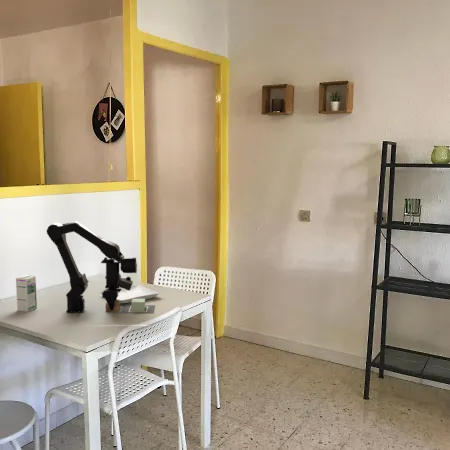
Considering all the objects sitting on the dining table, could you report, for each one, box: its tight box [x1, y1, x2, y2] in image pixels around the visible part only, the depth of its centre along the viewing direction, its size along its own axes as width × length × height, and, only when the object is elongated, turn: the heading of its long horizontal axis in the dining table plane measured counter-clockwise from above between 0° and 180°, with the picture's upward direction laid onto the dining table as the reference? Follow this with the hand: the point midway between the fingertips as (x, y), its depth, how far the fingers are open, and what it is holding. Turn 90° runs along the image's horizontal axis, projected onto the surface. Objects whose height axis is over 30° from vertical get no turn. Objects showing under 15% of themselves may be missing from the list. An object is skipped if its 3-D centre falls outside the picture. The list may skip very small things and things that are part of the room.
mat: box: [120, 304, 156, 315], centre depth 212 cm, size 14×12×1 cm
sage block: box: [130, 299, 146, 311], centre depth 212 cm, size 6×6×4 cm
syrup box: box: [15, 274, 38, 313], centre depth 209 cm, size 6×6×14 cm
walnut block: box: [105, 300, 121, 312], centre depth 211 cm, size 6×6×4 cm
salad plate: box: [99, 284, 160, 305], centre depth 232 cm, size 21×21×3 cm
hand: (113, 308), depth 211 cm, fingers closed on walnut block, 5 cm apart
